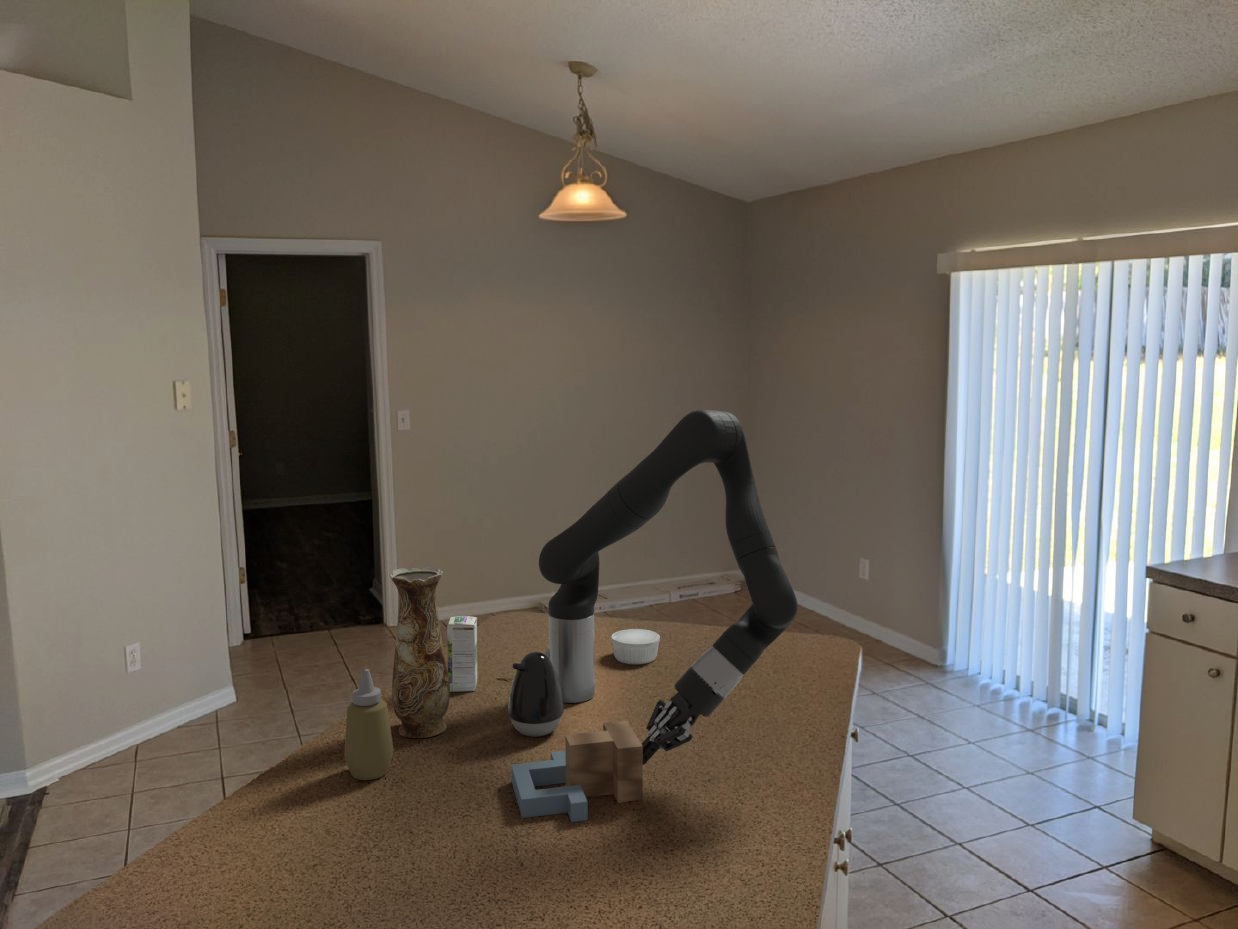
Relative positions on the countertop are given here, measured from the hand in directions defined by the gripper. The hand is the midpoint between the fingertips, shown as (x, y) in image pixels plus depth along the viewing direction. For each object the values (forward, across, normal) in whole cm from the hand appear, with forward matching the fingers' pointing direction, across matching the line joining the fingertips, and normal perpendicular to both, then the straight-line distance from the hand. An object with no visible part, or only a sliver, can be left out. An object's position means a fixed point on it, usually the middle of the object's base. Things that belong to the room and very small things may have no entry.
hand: (637, 760), depth 152 cm
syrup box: (+20, -50, -14) cm, 56 cm away
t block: (+7, 0, -1) cm, 7 cm away
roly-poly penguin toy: (+12, -25, -6) cm, 28 cm away
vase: (+26, -31, -20) cm, 46 cm away
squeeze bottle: (+33, -15, -27) cm, 45 cm away
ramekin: (-8, -59, +14) cm, 61 cm away
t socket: (+14, 0, -8) cm, 16 cm away
